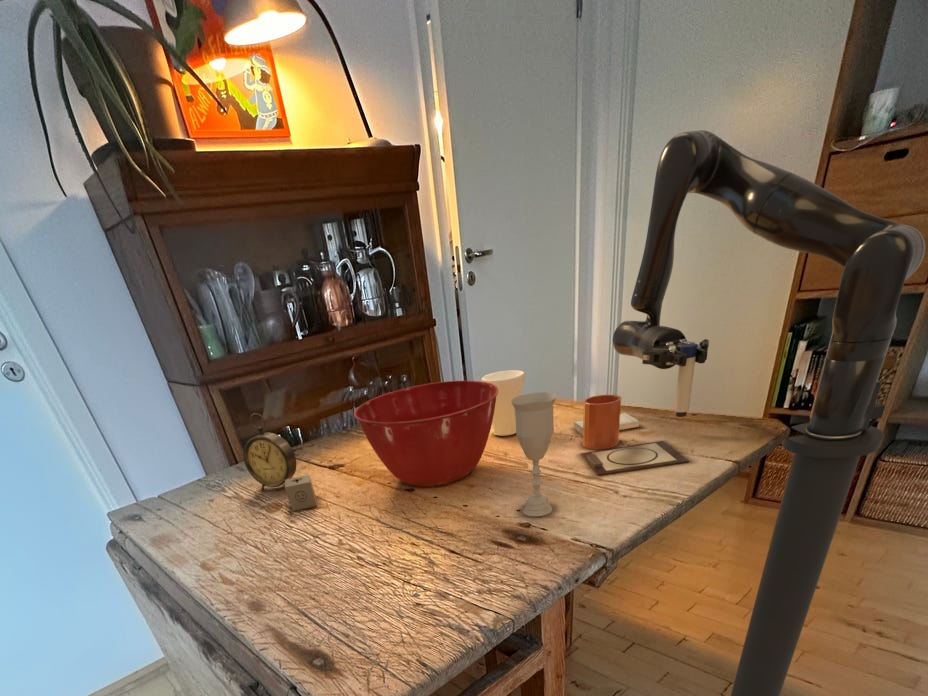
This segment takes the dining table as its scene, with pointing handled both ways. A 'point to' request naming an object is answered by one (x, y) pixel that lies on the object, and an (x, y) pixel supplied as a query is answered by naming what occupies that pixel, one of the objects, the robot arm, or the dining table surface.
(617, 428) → the pen cup
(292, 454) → the alarm clock
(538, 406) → the chalice
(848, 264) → the robot arm
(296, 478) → the grey cube
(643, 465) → the brown tray
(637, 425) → the hard drive
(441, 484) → the mixing bowl
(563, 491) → the dining table surface
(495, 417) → the cup
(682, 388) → the marker
